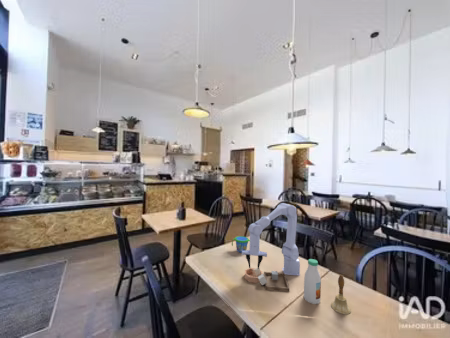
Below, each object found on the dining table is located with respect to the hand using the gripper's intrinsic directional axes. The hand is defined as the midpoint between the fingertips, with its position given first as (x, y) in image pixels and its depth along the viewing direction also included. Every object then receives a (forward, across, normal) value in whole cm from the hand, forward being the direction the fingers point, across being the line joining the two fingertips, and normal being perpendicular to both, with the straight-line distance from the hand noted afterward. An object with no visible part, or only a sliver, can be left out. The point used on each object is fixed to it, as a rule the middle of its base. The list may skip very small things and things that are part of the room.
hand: (253, 267), depth 118 cm
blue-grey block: (+7, -12, -3) cm, 15 cm away
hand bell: (+8, -41, +17) cm, 45 cm away
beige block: (+4, -3, -2) cm, 5 cm away
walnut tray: (+8, -12, +1) cm, 15 cm away
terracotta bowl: (+8, 0, -2) cm, 8 cm away
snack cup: (+8, +9, -40) cm, 41 cm away
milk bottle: (+8, -29, +13) cm, 33 cm away
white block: (+4, -4, +3) cm, 7 cm away
